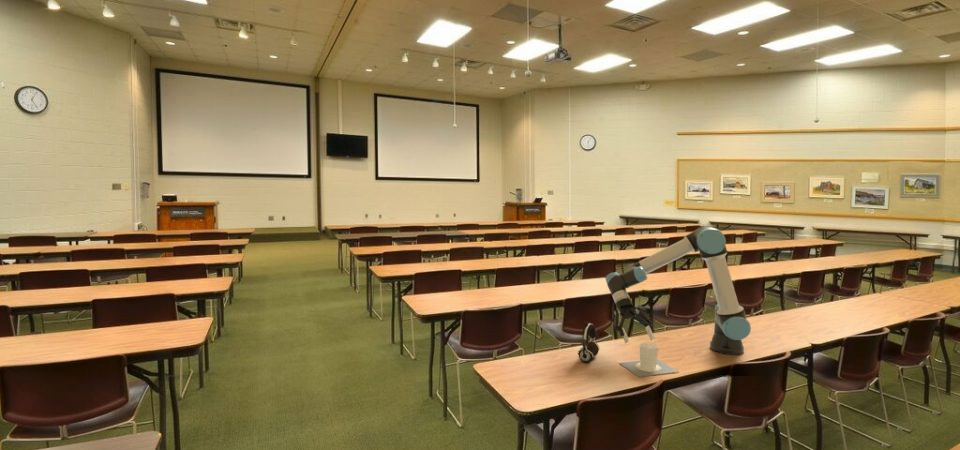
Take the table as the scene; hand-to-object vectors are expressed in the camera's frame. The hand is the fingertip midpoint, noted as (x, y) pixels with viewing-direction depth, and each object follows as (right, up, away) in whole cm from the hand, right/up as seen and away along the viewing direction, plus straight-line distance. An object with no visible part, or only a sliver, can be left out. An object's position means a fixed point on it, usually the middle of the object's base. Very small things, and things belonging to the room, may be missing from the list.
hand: (640, 340), depth 213 cm
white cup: (+2, -11, -5) cm, 12 cm away
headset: (-23, -11, +6) cm, 26 cm away
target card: (+2, -11, -5) cm, 12 cm away
